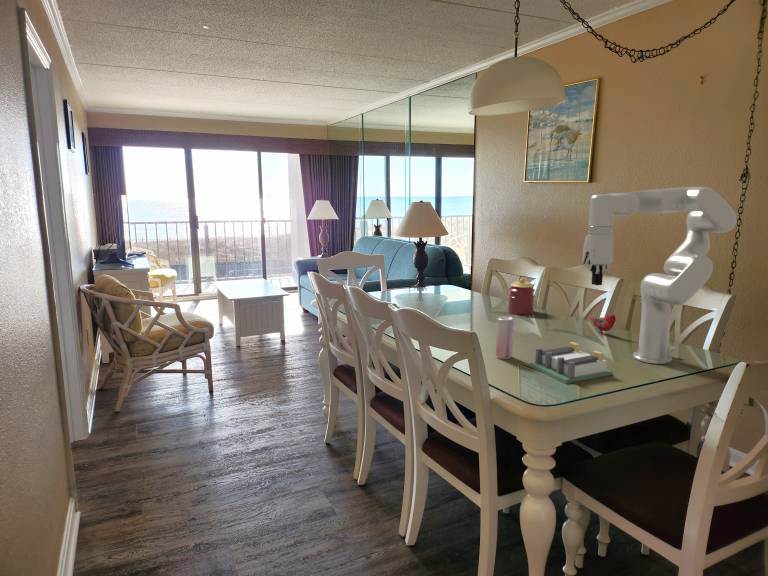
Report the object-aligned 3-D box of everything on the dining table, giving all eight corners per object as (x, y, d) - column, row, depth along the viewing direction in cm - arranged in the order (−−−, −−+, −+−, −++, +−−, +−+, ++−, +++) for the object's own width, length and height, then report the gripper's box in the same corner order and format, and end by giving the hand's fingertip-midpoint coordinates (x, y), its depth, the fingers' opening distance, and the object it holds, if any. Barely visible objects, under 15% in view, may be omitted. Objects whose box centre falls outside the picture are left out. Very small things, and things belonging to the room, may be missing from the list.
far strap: (567, 348, 185) (567, 346, 185) (574, 351, 182) (574, 349, 182) (540, 353, 180) (540, 351, 180) (546, 356, 177) (546, 353, 177)
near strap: (590, 357, 175) (590, 355, 175) (597, 360, 172) (597, 357, 172) (562, 362, 170) (562, 360, 170) (569, 365, 167) (569, 363, 167)
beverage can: (494, 354, 195) (495, 316, 193) (510, 354, 195) (511, 316, 192) (497, 359, 190) (498, 320, 187) (513, 359, 189) (515, 320, 187)
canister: (517, 308, 272) (518, 275, 269) (538, 312, 263) (540, 278, 260) (502, 312, 264) (503, 278, 260) (524, 316, 254) (526, 281, 251)
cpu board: (573, 359, 189) (575, 339, 188) (612, 374, 173) (614, 353, 172) (529, 366, 182) (530, 346, 180) (565, 383, 165) (566, 361, 164)
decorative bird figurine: (612, 339, 214) (614, 315, 212) (583, 328, 231) (584, 307, 229) (617, 338, 215) (619, 315, 213) (588, 328, 232) (589, 306, 230)
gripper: (608, 229, 180) (604, 281, 184) (574, 231, 175) (571, 284, 178) (625, 231, 174) (621, 284, 177) (591, 233, 168) (588, 288, 171)
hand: (596, 284), depth 178 cm, fingers closed
